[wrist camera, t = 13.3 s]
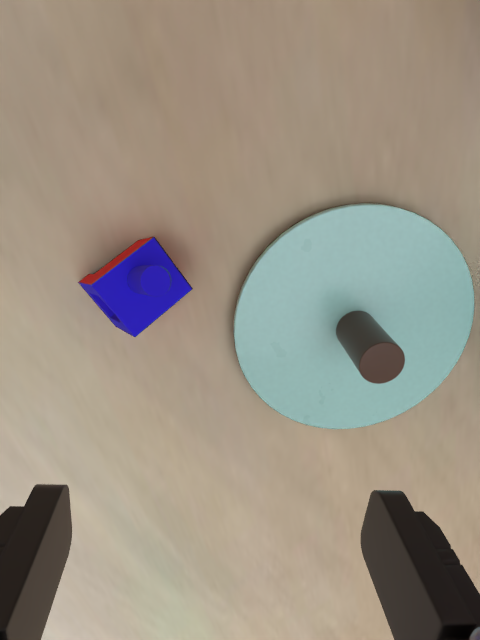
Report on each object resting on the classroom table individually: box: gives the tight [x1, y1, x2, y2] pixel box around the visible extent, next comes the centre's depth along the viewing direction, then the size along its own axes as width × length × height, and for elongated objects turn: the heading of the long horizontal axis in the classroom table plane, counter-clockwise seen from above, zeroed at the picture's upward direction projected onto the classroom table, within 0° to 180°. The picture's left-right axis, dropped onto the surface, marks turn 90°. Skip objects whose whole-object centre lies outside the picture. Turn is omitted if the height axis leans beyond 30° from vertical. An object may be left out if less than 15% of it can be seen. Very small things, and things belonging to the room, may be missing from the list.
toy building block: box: [78, 237, 192, 337], centre depth 25 cm, size 4×4×8 cm
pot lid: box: [234, 203, 474, 429], centre depth 27 cm, size 16×16×6 cm
